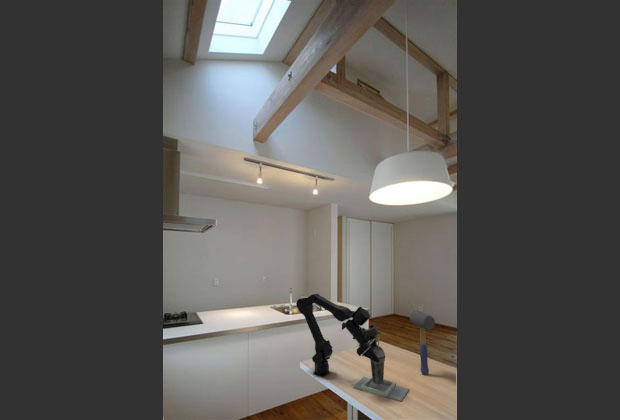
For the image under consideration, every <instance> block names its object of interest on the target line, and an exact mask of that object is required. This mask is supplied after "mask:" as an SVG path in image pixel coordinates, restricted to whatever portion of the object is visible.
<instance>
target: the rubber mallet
mask: <svg viewBox="0 0 620 420" xmlns="http://www.w3.org/2000/svg"><path fill="white" fill-rule="evenodd" d="M409 321H410V322H411V324H413V325H415V326H417V327H419V335H420V336H419V337H420V338H419V339H420V344H419V357H420V358H419V359H420V373H421V374H422V375H425V376H428V375H429V373H430V370H429V364H428V356H429V353H428V345H427V340H426V337H427V336H426V330H428V331H431V330H432V329H434V327H435V325H436V321H435V319H434V317H433V316H432V315H430V314H427V313H425V312H422V311H417V310H413V311H411V313H410V314H409Z"/></svg>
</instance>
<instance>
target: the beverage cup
mask: <svg viewBox="0 0 620 420" xmlns="http://www.w3.org/2000/svg"><path fill="white" fill-rule="evenodd" d="M377 337H378V338H377V346H374V347H372V350H373V352H374V353H375V355H376V356H377V358H378V359H379V362H378V363H377V362H375V361H373V360H371V359H370V368H371V376H372V379H373V383H374V384H378V385H380V384H383V379H384V377H385V375H384V374H385V359H386V353H385V351H384V349H383V347H381V346H380V335H377Z"/></svg>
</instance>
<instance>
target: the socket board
mask: <svg viewBox="0 0 620 420" xmlns="http://www.w3.org/2000/svg"><path fill="white" fill-rule="evenodd" d="M352 388H353V389H356V390H359V391H362V392H366V393H369V394H373V395H376V396H379V397H382V398H386V399H389V400H393V401H397V402H400V403H401V402H402V401H403V400H404V399H405V397H406V396H407V394H408V392H409V391H410V388H407V387H404V386H400V385H397V383H396V381H393V380H387V379H384V378H383V384H380V385H378V384H374V383H373V379H372V375H371V376H369V377H366V376H363V377H362V378H361V379H359V380H358V381H357V382H356V383H354V385H352Z"/></svg>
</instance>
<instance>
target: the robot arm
mask: <svg viewBox="0 0 620 420" xmlns="http://www.w3.org/2000/svg"><path fill="white" fill-rule="evenodd" d="M313 304H316V305H318V306H320V307H321V308H323V309H324V310H326V311H327V312H330V313H331V314H332V316H333V317H334V318H335V319H336V320H338V321H339V322H341V330H342V331H344V330H345V329H346V330H347V331H348V333H349V334H350V335H351V336H352V339H353V340H355V341H356V342H357V344H358V347H357V349H356V354H357V355H358V356H359V357H361V356H362V357H365V358H367V359H371V360H373V361H375V362H377V363H378V362H379V359H378V358H377V356H376V355H375V353H374V352H373V350H372V347H374V346H378V338H377V337H378V336H379V333H380V332H379V330H378V328H379V327H378V326H377V325H375V324H374V323H372V324H370V325H369V328H368V329H366V328H365V327H362V326H363V325H364V324H366V323H367V321H368V320H370V319H371V314H370V312H369V311H368V310H367V309H366V308H363V306H359V307H357V308H356V310H355V311H353V310H351V309H350V308H349V307H347V306H344V305H340V304H339V305H338V304H336V303H334V302H332V301H330V300H329V299H327V298H325V297H324V296H322V295H320V294H319V293H314V294H311V295H309V296H305V297H301V298H298V299H297V300H296V303H295V306H296V308H297V309H298V312H299V313H300V314H301V315H303V317H304V319H305V321H306V323H307V326H308V329H309V331H310V333H311V336H312V339H313V340H314V341H313V342H314V351H315V354H314V355H313V356H312V357H311V360H312V363H314V371H313V372H312V374H313V375H316V376H319V377H322V378H323V377H326V376H327V375H328V374H330V373H331V371H330V364H329V360H330V358H331V357H332V355H333V351H334V350H333V346H332V345H331V341H330V339H328V340H326V339H325V337H324V336H323V333H322V331H321V329H320V326H319V324H318V321H317V319H316V317H315V314H314V305H313ZM344 321H345V322H344ZM371 360H370V361H371Z"/></svg>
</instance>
